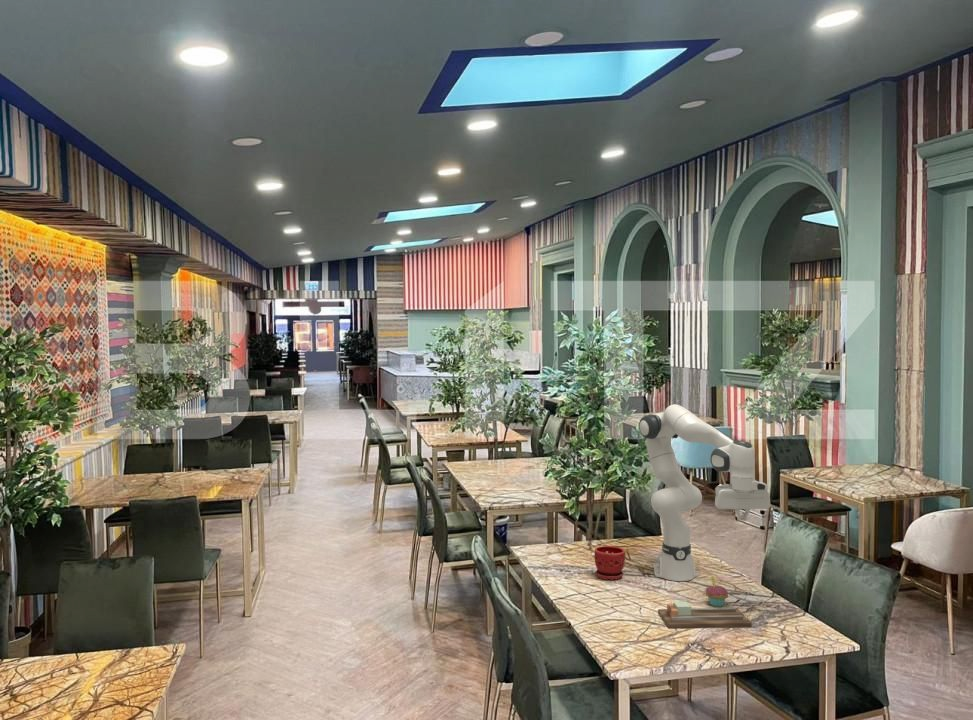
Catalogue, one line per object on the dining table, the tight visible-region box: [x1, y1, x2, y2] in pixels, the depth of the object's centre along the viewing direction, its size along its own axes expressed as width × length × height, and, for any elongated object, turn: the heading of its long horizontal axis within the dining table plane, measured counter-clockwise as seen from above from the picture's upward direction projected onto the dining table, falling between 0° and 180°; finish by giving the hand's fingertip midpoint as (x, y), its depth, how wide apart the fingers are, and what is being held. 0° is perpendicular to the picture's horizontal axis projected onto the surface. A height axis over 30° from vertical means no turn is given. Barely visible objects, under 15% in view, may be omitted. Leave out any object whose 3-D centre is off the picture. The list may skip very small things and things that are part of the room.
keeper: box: [672, 601, 692, 616], centre depth 262 cm, size 5×5×4 cm
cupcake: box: [704, 574, 729, 608], centre depth 277 cm, size 9×8×12 cm
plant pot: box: [593, 545, 626, 581], centre depth 310 cm, size 13×13×12 cm
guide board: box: [657, 602, 753, 629], centre depth 262 cm, size 14×30×5 cm, turn 91°
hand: (742, 520), depth 271 cm, fingers closed
